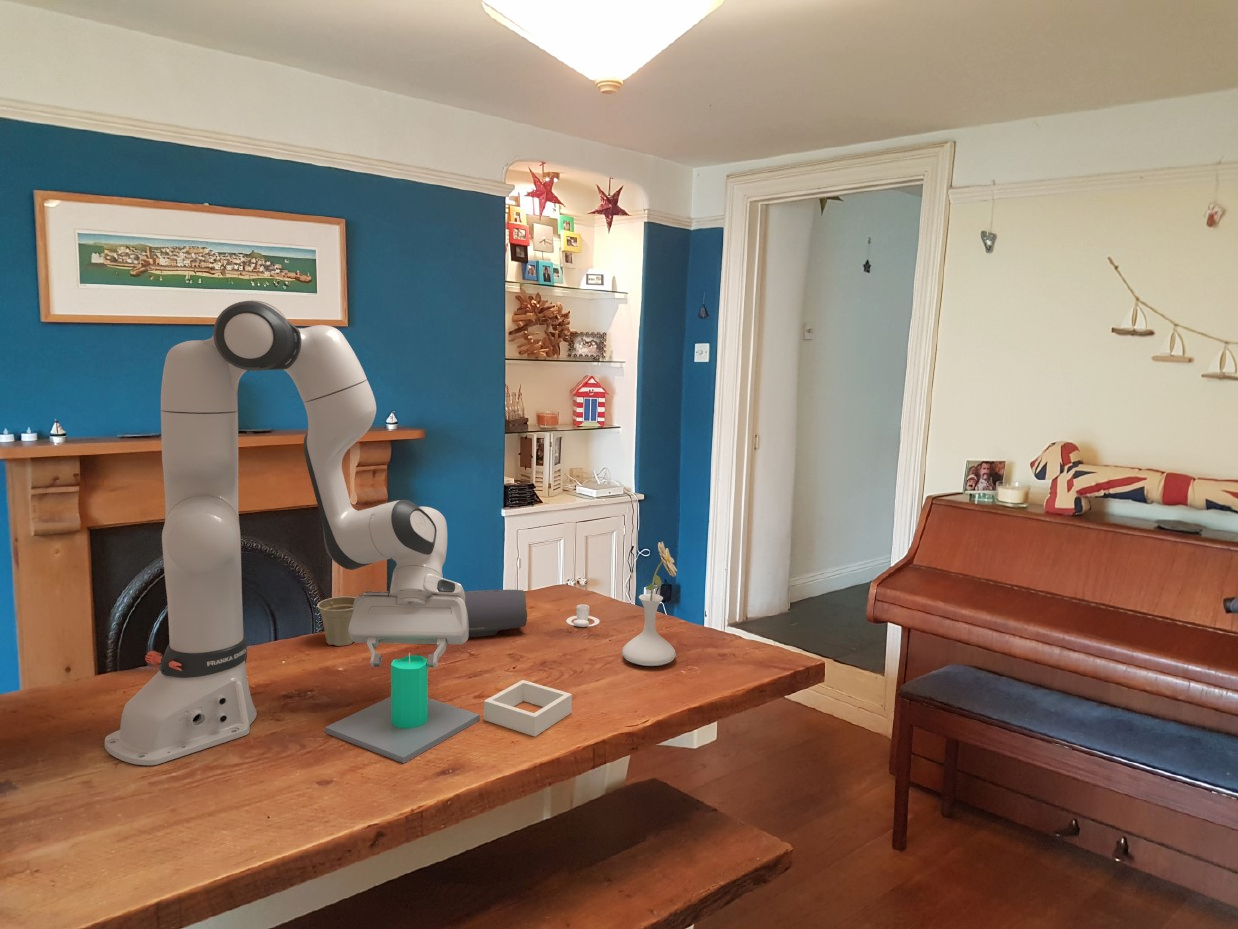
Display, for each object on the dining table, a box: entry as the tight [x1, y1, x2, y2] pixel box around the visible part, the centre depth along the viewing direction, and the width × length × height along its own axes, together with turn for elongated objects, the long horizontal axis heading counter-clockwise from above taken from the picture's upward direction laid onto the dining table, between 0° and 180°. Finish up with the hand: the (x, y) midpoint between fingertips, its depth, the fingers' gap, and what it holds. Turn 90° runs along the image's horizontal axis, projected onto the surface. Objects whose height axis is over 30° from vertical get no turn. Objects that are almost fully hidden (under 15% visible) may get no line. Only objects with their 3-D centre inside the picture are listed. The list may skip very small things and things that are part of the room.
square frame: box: [483, 679, 573, 737], centre depth 144 cm, size 11×11×4 cm
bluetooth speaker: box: [464, 589, 528, 638], centre depth 183 cm, size 23×9×10 cm, turn 108°
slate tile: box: [324, 696, 481, 764], centre depth 139 cm, size 18×18×1 cm
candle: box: [390, 652, 429, 728], centre depth 138 cm, size 6×6×12 cm
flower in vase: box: [621, 541, 678, 667], centre depth 171 cm, size 13×11×25 cm
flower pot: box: [316, 596, 357, 647], centre depth 176 cm, size 9×9×9 cm
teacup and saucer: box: [565, 604, 600, 628], centre depth 194 cm, size 9×8×4 cm
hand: (403, 666), depth 137 cm, fingers open, 8 cm apart
